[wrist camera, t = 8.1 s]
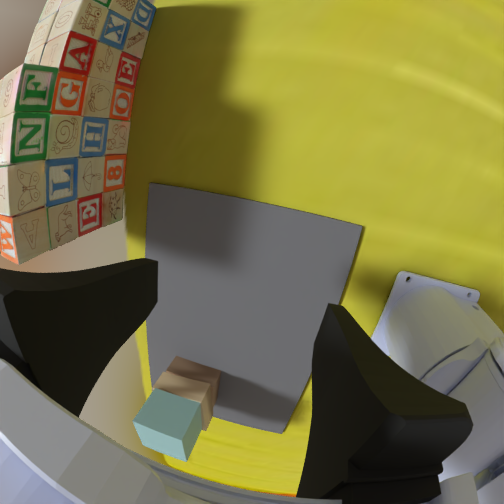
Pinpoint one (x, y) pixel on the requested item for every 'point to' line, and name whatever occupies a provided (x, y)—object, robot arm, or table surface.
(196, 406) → the teal cube
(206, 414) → the oak slab
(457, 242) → the table surface
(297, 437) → the table surface
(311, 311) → the rubber mat
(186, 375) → the walnut slab
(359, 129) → the table surface
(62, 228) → the stack of blocks
